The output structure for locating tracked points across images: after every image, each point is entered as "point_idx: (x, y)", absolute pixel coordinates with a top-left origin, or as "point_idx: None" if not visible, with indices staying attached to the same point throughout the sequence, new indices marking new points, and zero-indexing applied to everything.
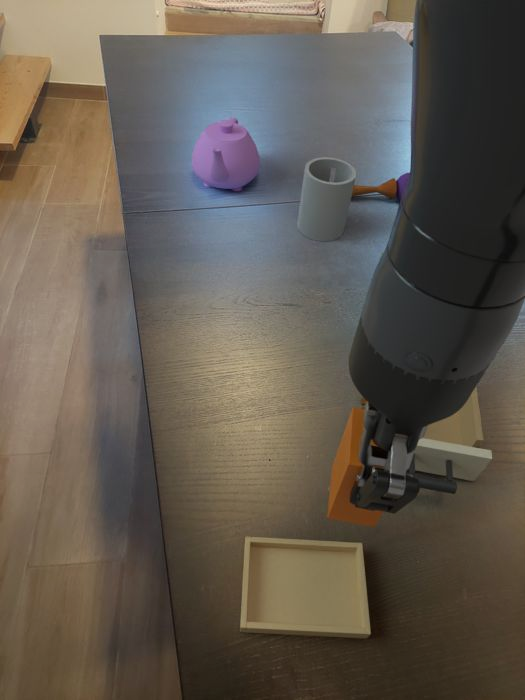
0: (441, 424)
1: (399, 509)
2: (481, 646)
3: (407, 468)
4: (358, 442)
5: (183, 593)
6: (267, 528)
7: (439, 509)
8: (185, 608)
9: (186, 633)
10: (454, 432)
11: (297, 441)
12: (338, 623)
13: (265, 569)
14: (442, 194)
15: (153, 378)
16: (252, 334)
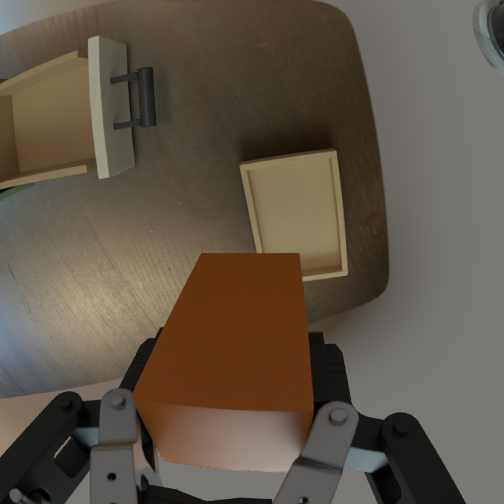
0: (68, 93)
1: (438, 455)
2: (313, 32)
3: (339, 475)
4: (246, 465)
5: (319, 315)
6: None
7: (169, 75)
8: (330, 311)
9: (349, 305)
10: (74, 77)
11: (138, 244)
12: (326, 179)
13: None
14: None
15: None
16: (53, 303)
